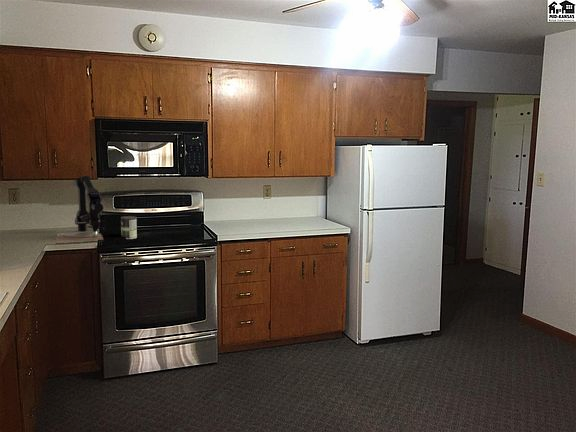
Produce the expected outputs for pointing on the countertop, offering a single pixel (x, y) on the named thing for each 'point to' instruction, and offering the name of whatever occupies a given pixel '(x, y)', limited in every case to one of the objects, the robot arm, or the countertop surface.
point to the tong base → (72, 234)
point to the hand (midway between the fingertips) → (94, 233)
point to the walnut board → (78, 239)
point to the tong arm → (95, 234)
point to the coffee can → (129, 227)
